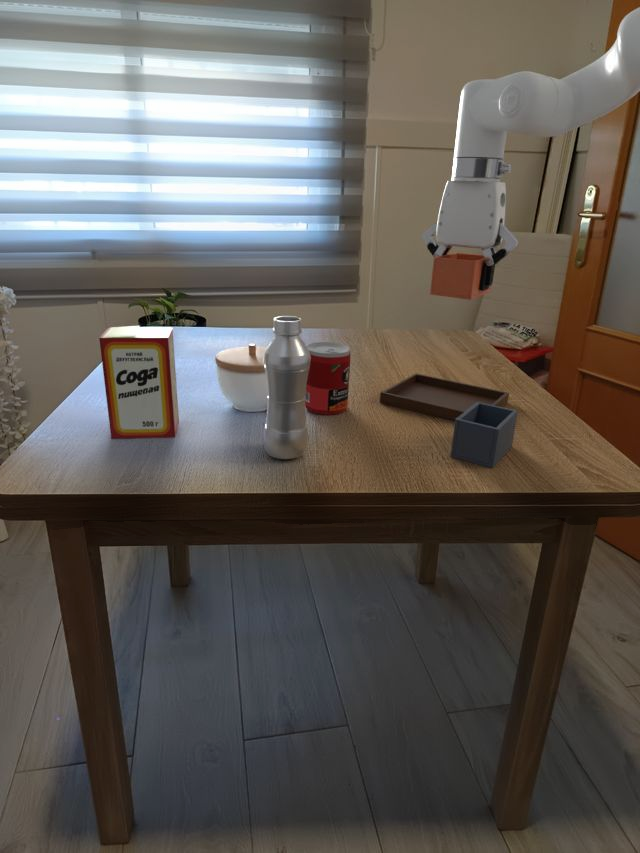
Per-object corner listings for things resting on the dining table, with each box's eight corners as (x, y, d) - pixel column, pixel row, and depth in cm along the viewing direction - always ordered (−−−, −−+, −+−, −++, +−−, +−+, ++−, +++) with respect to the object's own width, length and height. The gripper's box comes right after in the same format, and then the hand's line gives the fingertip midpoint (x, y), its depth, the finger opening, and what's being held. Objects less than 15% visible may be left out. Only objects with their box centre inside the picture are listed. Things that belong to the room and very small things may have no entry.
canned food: (335, 418, 98) (338, 356, 93) (295, 409, 101) (296, 348, 97) (355, 405, 104) (358, 346, 100) (317, 397, 107) (319, 339, 103)
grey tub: (511, 446, 89) (518, 410, 87) (492, 468, 82) (499, 429, 80) (472, 436, 92) (477, 401, 90) (450, 456, 85) (455, 419, 83)
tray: (507, 402, 108) (509, 392, 107) (480, 427, 96) (482, 416, 95) (414, 382, 118) (415, 373, 117) (379, 402, 106) (380, 392, 105)
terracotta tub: (490, 292, 99) (495, 256, 97) (470, 299, 92) (475, 261, 89) (452, 287, 103) (456, 252, 101) (429, 294, 95) (433, 257, 93)
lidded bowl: (226, 421, 95) (224, 357, 91) (210, 396, 106) (208, 338, 101) (297, 413, 99) (299, 351, 95) (275, 390, 110) (276, 334, 106)
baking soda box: (178, 421, 94) (172, 325, 88) (175, 437, 88) (167, 335, 82) (119, 422, 93) (108, 325, 87) (111, 438, 87) (98, 335, 81)
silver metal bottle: (253, 455, 83) (251, 318, 76) (285, 441, 88) (287, 311, 81) (285, 469, 80) (287, 326, 72) (317, 454, 84) (322, 319, 77)
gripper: (539, 173, 89) (519, 290, 95) (434, 171, 97) (423, 278, 104) (526, 172, 83) (506, 296, 90) (415, 170, 91) (405, 283, 98)
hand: (461, 286), depth 97 cm, fingers closed on terracotta tub, 7 cm apart
